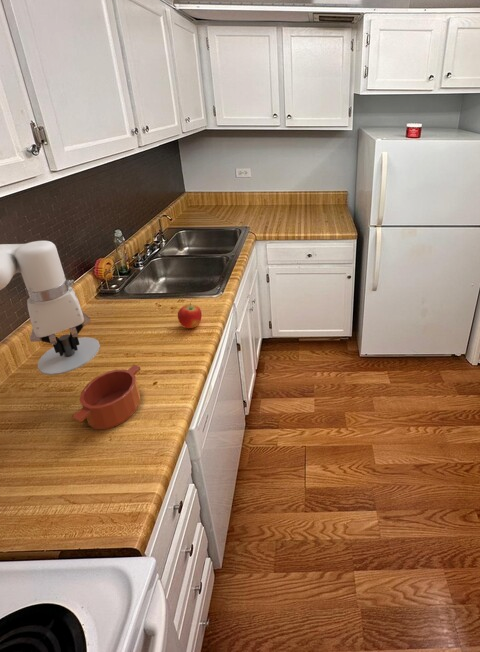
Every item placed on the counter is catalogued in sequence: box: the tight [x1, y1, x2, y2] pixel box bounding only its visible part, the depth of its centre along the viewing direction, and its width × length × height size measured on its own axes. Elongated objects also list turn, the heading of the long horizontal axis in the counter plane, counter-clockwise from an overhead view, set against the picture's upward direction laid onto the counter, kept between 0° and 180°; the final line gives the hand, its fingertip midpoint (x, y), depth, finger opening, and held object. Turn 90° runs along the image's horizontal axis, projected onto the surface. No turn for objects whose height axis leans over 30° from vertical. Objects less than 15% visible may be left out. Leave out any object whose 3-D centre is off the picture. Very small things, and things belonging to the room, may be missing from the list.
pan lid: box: [36, 333, 101, 376], centre depth 87 cm, size 14×14×7 cm
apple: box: [177, 302, 203, 329], centre depth 121 cm, size 8×8×10 cm
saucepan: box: [72, 364, 142, 430], centre depth 89 cm, size 13×18×7 cm
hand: (68, 349), depth 88 cm, fingers closed on pan lid, 2 cm apart
